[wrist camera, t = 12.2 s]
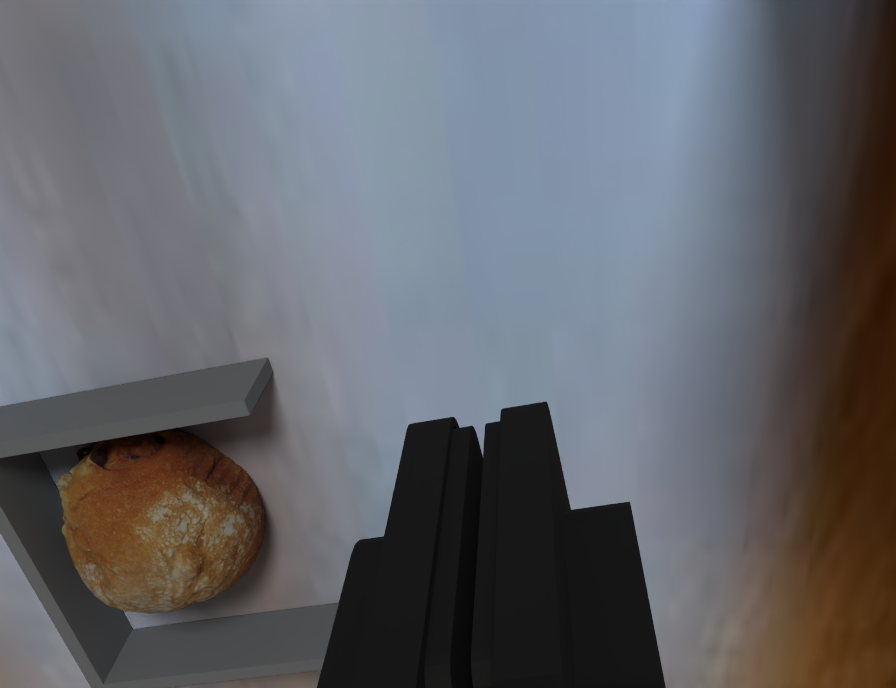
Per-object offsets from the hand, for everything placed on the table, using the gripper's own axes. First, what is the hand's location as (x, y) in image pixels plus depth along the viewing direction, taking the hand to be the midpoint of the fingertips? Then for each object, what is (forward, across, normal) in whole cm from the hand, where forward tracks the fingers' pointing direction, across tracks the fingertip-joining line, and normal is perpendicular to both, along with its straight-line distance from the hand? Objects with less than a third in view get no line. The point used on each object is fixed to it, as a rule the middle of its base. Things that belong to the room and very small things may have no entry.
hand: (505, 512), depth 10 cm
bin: (+27, +21, +18) cm, 39 cm away
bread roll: (+27, +22, +17) cm, 39 cm away
